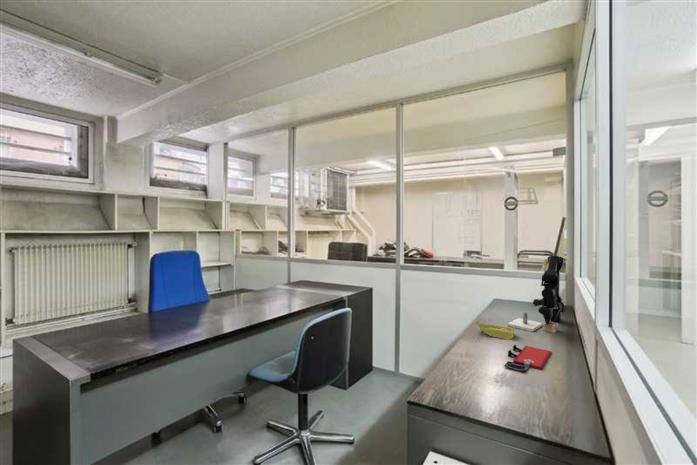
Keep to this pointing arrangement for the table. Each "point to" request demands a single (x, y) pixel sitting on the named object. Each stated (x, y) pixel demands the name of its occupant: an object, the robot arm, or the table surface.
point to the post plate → (528, 326)
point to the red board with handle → (528, 358)
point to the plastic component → (496, 331)
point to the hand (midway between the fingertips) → (550, 322)
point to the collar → (550, 327)
